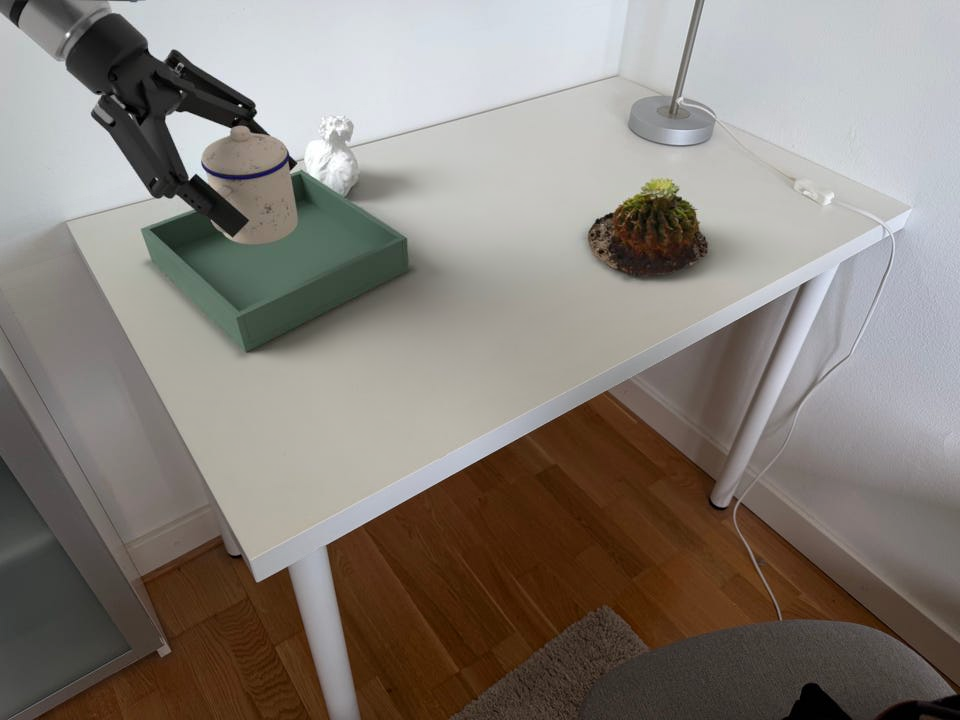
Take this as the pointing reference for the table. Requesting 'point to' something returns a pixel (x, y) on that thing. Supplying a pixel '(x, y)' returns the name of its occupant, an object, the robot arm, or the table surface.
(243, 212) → the teacup with lid
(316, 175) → the bust
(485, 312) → the table surface
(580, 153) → the table surface
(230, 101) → the robot arm
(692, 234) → the cactus
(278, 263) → the tray
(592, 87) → the table surface
